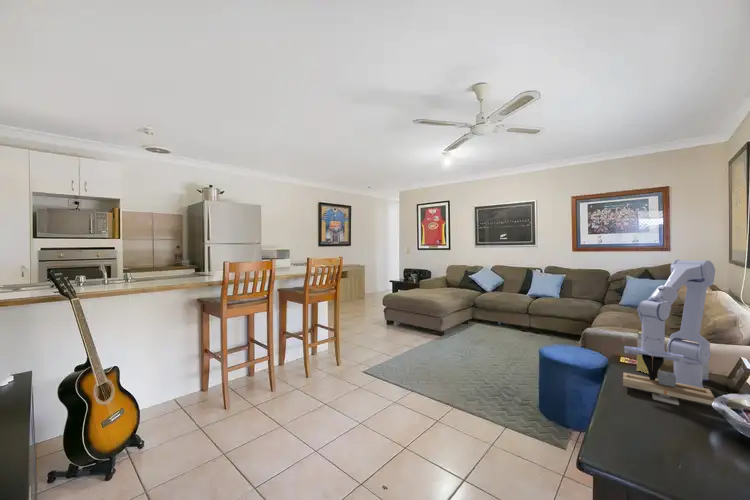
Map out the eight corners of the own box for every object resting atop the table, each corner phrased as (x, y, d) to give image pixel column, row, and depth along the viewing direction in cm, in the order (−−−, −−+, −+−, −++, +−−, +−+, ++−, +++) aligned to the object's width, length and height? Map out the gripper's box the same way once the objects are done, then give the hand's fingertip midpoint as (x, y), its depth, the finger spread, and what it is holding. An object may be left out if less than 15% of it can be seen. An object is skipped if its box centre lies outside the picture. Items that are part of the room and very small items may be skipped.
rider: (657, 382, 105) (657, 370, 105) (673, 385, 103) (674, 373, 103) (658, 387, 101) (658, 374, 102) (675, 390, 99) (675, 377, 99)
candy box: (647, 367, 129) (648, 329, 129) (660, 371, 125) (661, 332, 125) (636, 370, 125) (636, 331, 125) (649, 374, 122) (649, 334, 122)
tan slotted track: (623, 383, 113) (623, 371, 113) (708, 402, 99) (708, 388, 99) (622, 392, 106) (623, 379, 106) (714, 413, 92) (714, 398, 92)
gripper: (624, 336, 106) (624, 376, 106) (685, 344, 97) (684, 389, 97) (624, 332, 111) (624, 370, 111) (682, 339, 102) (681, 382, 102)
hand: (652, 379), depth 104 cm, fingers closed
